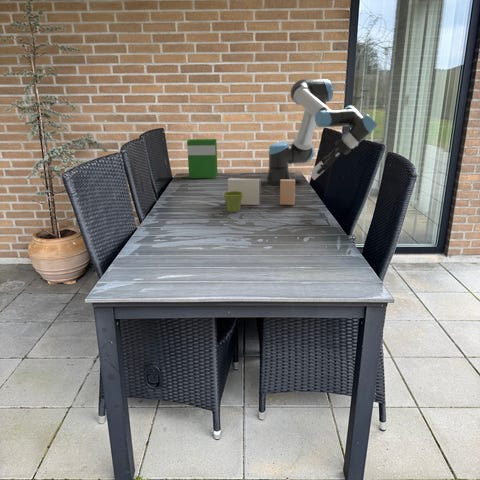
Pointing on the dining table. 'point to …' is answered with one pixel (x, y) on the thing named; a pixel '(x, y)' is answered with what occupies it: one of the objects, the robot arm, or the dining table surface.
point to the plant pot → (233, 200)
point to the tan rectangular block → (287, 192)
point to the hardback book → (202, 158)
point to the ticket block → (247, 190)
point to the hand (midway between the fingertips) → (312, 175)
